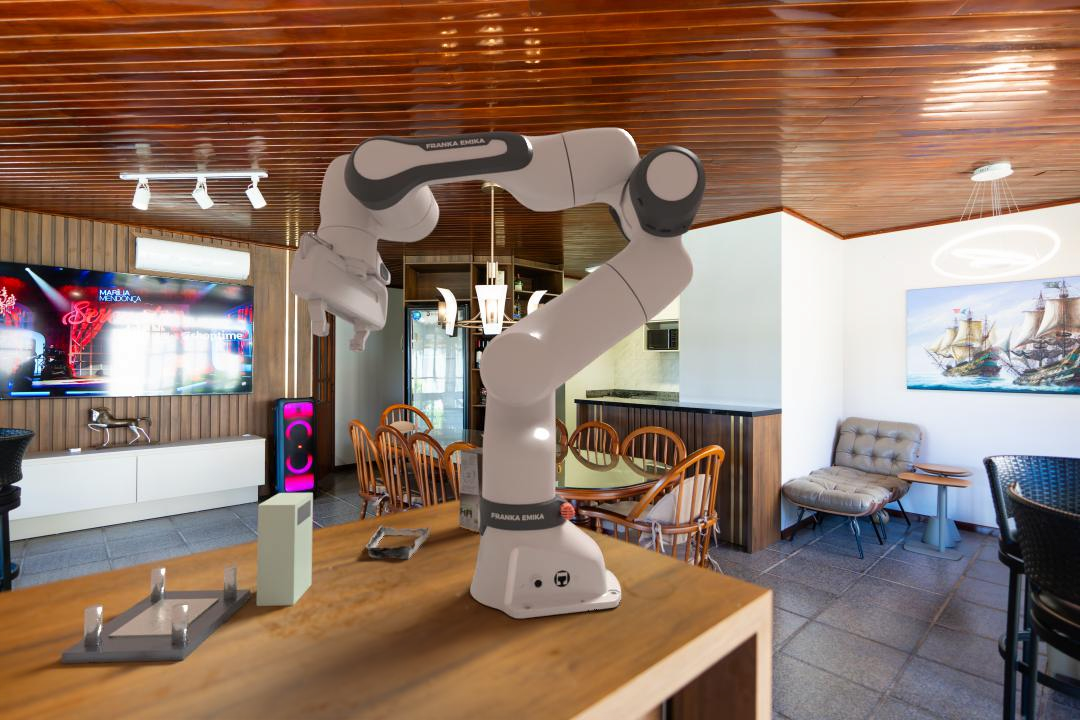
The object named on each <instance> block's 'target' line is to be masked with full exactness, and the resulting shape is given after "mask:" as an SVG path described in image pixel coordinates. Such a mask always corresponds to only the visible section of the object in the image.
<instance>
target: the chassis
mask: <svg viewBox="0 0 1080 720" xmlns="http://www.w3.org/2000/svg"><path fill="white" fill-rule="evenodd" d="M166 568H167V567H165V566H157V567H154V568H152V569H151V571H150V573H151V574H150V595H148V596H146V597H144V598H143V599H142V600H140V601H138V602H137V603H136V604H133V606H131V607H130V608H128V609H126V610H124V611H123V612H122V613H120V614H119V615H118V616H116V617H115V618H113V619H111V620H110V621H108V622H107V623H104V625H103V619H104V618H103V615H104V614H103V613H104V611H103V609H104V606H103V604H101V603H99V604H92V605H90V606H86V608H84V624H83V626H84V627H83V628H84V634H83V638H82V639H81V640H80V641H77V642H76V643H75V644H73V645H71V646H70V647H69V648H67V649H66V650H64V651H62V652H61V664H86V663H87V664H91V663H92V662H99V663H122V662H123V663H125V662H126V663H128V662H130V663H131V662H158V661H159V662H161V661H162V662H166V661H170V662H171V661H184V660H185V659H186V658H188V657H189V656H190V654H192V653H193V652H194V651H195V650H196V649H197V648H198V647H199V646H200V645H201V644H203V642H205V641H206V640H207V639H208V638H209V637H210V636H211V635H212V634H213V633H214V632H215V631H216V630H217V629H218V628H220V627H221V626H222V625H223V624H224V623H225V622H226V621H227V620H228V619H230V617H232V616H233V615H234V614H235V613H236V612H237V611H238V610H239V609H241V607H242V606H244V604H246V603H247V602H248V601H249V600H250V599H251V589H238V565H228V566H226V567H224V568H223V589H222V590H221V589H220V590H216V589H215V590H209V589H208V590H207V589H206V590H167V591H166ZM110 661H111V662H110ZM89 662H91V663H89Z"/></svg>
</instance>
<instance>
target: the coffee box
mask: <svg viewBox="0 0 1080 720" xmlns="http://www.w3.org/2000/svg"><path fill="white" fill-rule="evenodd" d="M459 468H460V471H459V476H460V478H459V507H458V509H459V512H458V513H459V515H458V516H459V518H458V526H459V525H460V526H463V527H466V528H469V529H473V530H478V531H479V529H478V505H479V500H480V495H481V494H482V480H483V447H477V448H469V449H461V450H460V467H459Z"/></svg>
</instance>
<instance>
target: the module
mask: <svg viewBox="0 0 1080 720" xmlns="http://www.w3.org/2000/svg"><path fill="white" fill-rule="evenodd" d="M313 502H314V493H313V492H279V493H277V494H275V495H273V496H271V497H270V498H268V499H266V500H265V501H263V502H261V503H260V504H258V505H257V551H256V552H257V553H256V554H257V556H256V559H257V561H256V564H257V565H256V606H257V607H259V606H260V607H266V606H267V607H268V606H269V607H270V606H272V607H273V606H294V605H295V604H296V603H297V602H298V600H300V598H302V597H303V595H304V594H305V593H306V592H307V590H308V589H309V588H310V587H311V586H312V584H313V583H312V582H313V581H312V578H313V577H312V574H313V565H312V564H313V516H314V515H313V511H314V510H313V509H314V507H313V506H314V504H313Z"/></svg>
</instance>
